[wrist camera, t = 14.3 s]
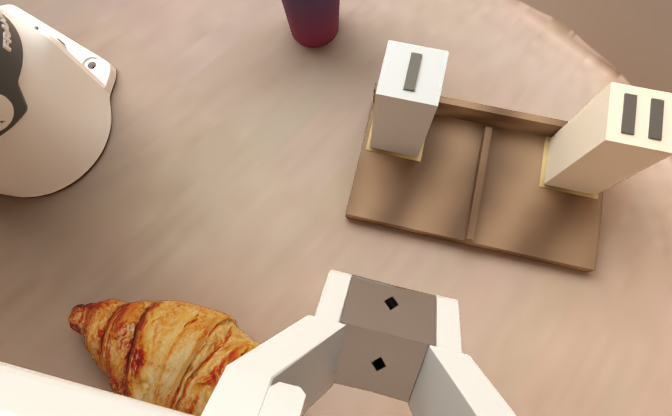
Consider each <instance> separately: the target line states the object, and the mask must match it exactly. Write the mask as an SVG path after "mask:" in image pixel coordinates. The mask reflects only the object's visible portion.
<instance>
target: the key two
mask: <svg viewBox="0 0 672 416" xmlns="http://www.w3.org/2000/svg"><path fill="white" fill-rule="evenodd" d="M671 155H672V93H667V92H662V91H656V90H651V89H646V88H640V87H635V86H630V85H624V84H619V83H614V82H611V83H610V84H609V85H608V86H606V87H605V88H604V89H603V90H602V91H601V92H600V93H599V94H598V95H597V96H596V97H595V98H594V99H592V100H591V101H590V102H589V103H588V104H587V105H586V106H585V107H584V108H583V109H582V110H581V111H580V112H578V113H577V114H576V115H575V116H574V117H573V118H572V119H571V120H570V121H569V122H568V123H567V124H566V125H564V126H563V127H562V128H561V129H560V130H559V131H558V132H557V133H556V134H555V135H554V136H553V137H551V138H550V142H549V149H548V157H547V164H546V172H545V179H544V184H545V185H550V186H554V187H559V188H564V189H568V190H573V191H578V192H583V193H587V194H592V195H596V194H598V193H600V192H602V191H604V190H606V189H608V188H610V187H611V186H613V185H615V184H617V183H619V182H621V181H623V180H625V179H627V178H629V177H631V176H632V175H634V174H636V173H638V172H640V171H642V170H644V169H646V168H648V167H650V166H651V165H653V164H655V163H657V162H659V161H661V160H663V159H665V158H667V157H669V156H671Z"/></svg>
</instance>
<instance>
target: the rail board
mask: <svg viewBox="0 0 672 416" xmlns="http://www.w3.org/2000/svg"><path fill="white" fill-rule="evenodd" d="M377 86H378V84H376V83H375V88H374V95H373V103H372V108H371V112H370V116H369V120H368V124H367V128H366V132H365V136H364V140H363V145H362V149H361V153H360V157H359V161H358V165H357V169H356V173H355V177H354V182H353V186H352V190H351V194H350V198H349V202H348V206H347V210H346V217H349V218H353V219H358V220H362V221H367V222H371V223H375V224H380V225H384V226H389V227H393V228H397V229H402V230H406V231H411V232H415V233H419V234H424V235H428V236H433V237H437V238H441V239H446V240H450V241H454V242H459V243H463V244H468V245H472V246H476V247H481V248H485V249H490V250H494V251H498V252H503V253H507V254H512V255H516V256H520V257H525V258H529V259H534V260H538V261H542V262H547V263H551V264H556V265H560V266H564V267H569V268H573V269H578V270H582V271H586V272H590V271H594V270H595V267H596V257H597V247H598V237H599V227H600V217H601V207H602V197H603V191H602V192H600V193H598V194H596V195H592V194H587V193H583V192H578V191H573V190H568V189H564V188H559V187H554V186H550V185H545V184H544V179H545V172H546V164H547V157H548V149H549V142H550V138H551V137H553V136H554V135H555V134H556V133H557V132H558V131H559V130H560V129H561V128H562V127H563V126H564V125H566V124H567V123H568V121H563V120H558V119H553V118H548V117H543V116H538V115H532V114H527V113H522V112H517V111H512V110H507V109H502V108H497V107H492V106H487V105H482V104H477V103H472V102H467V101H462V100H457V99H452V98H447V97H442V96H440V99H439V104H438V107H437V110H436V112H435V115H434V117H433V120H432V123H431V125H430V128H429V130H428V133H427V135H426V138H425V140H424V143H423V145H422V148H421V150H420V153H419V155H418V157H413V156H409V155H404V154H399V153H394V152H390V151H385V150H380V149H375V148H371V147H370V142H371V132H372V123H373V113H374V104H375V94H376V90H377Z"/></svg>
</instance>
